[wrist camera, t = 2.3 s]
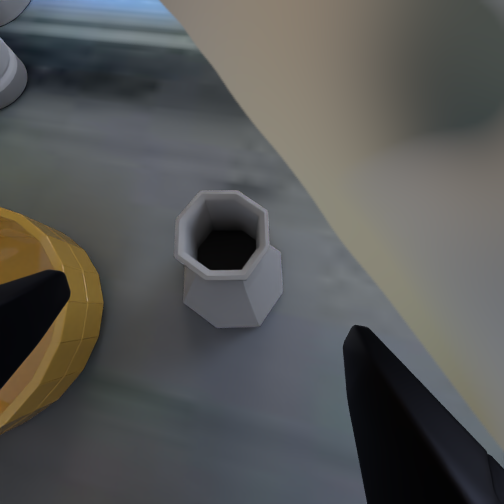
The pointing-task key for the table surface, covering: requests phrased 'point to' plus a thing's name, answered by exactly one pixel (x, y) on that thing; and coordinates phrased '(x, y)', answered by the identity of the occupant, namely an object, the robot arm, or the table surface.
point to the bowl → (65, 325)
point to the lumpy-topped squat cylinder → (11, 9)
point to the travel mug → (10, 76)
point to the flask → (228, 259)
